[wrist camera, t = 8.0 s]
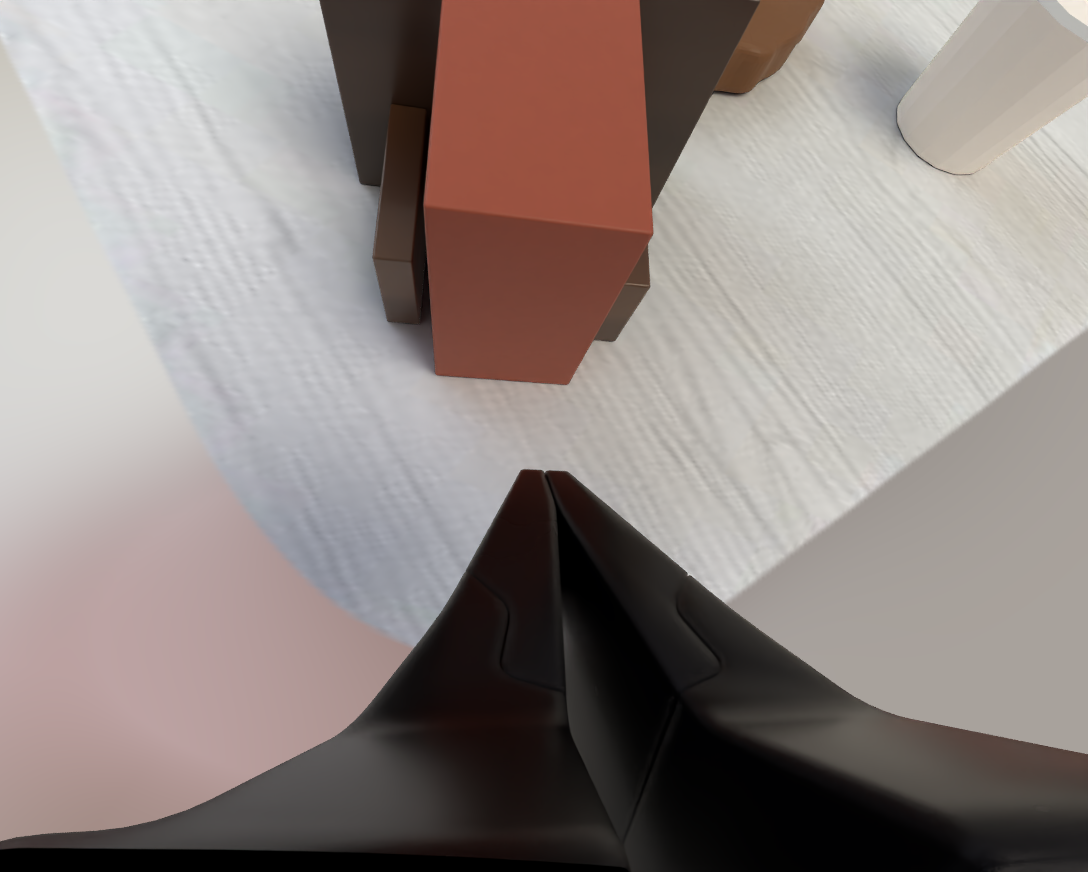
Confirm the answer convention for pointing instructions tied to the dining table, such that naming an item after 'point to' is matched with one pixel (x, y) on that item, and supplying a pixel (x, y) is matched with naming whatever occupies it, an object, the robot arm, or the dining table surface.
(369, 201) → the dining table surface
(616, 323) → the dock
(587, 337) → the orange rectangular block
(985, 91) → the shot glass
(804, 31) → the plant
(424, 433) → the dining table surface
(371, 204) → the dining table surface
